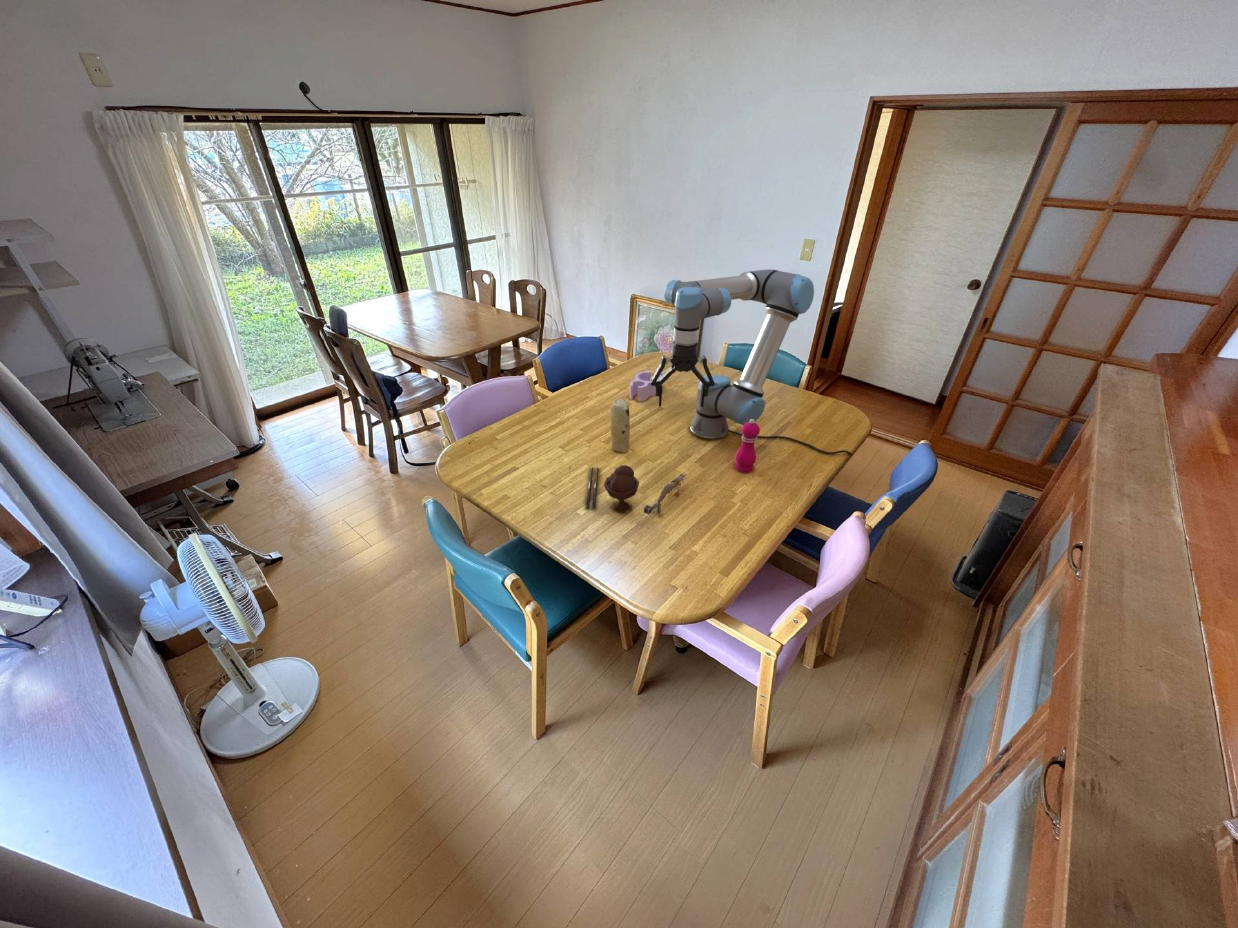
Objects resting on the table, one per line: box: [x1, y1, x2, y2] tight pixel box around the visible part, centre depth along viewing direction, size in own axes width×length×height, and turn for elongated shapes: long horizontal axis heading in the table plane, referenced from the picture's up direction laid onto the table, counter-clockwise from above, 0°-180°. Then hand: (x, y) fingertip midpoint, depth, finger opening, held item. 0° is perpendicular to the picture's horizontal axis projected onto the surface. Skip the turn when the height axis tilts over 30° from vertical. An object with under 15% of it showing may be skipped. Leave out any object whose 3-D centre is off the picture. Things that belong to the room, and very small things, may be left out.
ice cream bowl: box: [603, 464, 640, 513], centre depth 151 cm, size 11×11×15 cm
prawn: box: [643, 471, 689, 516], centre depth 156 cm, size 25×12×7 cm, turn 144°
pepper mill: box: [734, 419, 761, 474], centre depth 168 cm, size 7×7×20 cm
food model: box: [610, 397, 631, 453], centre depth 180 cm, size 10×7×20 cm
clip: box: [629, 369, 664, 402], centre depth 225 cm, size 20×12×7 cm, turn 148°
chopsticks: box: [585, 467, 599, 510], centre depth 164 cm, size 3×23×1 cm, turn 179°
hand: (680, 405), depth 157 cm, fingers open, 13 cm apart
